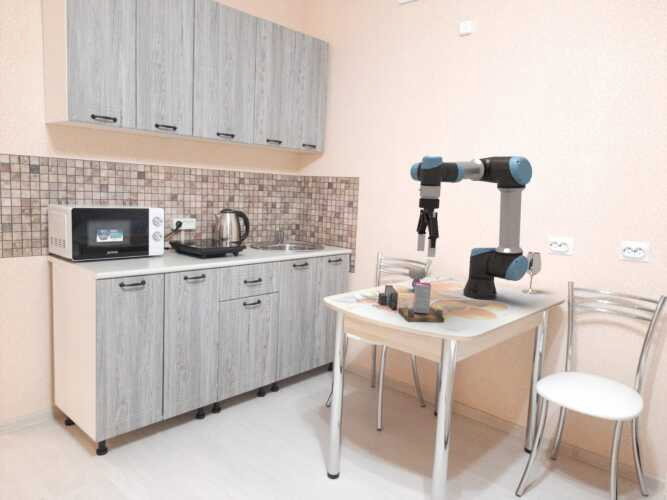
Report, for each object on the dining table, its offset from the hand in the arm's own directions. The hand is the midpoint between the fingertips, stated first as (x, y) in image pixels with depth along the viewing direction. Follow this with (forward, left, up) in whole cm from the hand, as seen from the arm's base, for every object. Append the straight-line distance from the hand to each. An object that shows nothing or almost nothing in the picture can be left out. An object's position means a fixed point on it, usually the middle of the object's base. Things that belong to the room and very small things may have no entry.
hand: (425, 253), depth 192 cm
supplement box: (0, 0, -23) cm, 23 cm away
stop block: (+11, -19, -25) cm, 33 cm away
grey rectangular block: (+8, -19, -24) cm, 32 cm away
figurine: (-11, -45, -25) cm, 52 cm away
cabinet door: (+1, -2, -25) cm, 25 cm away
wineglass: (-71, -49, -25) cm, 90 cm away
